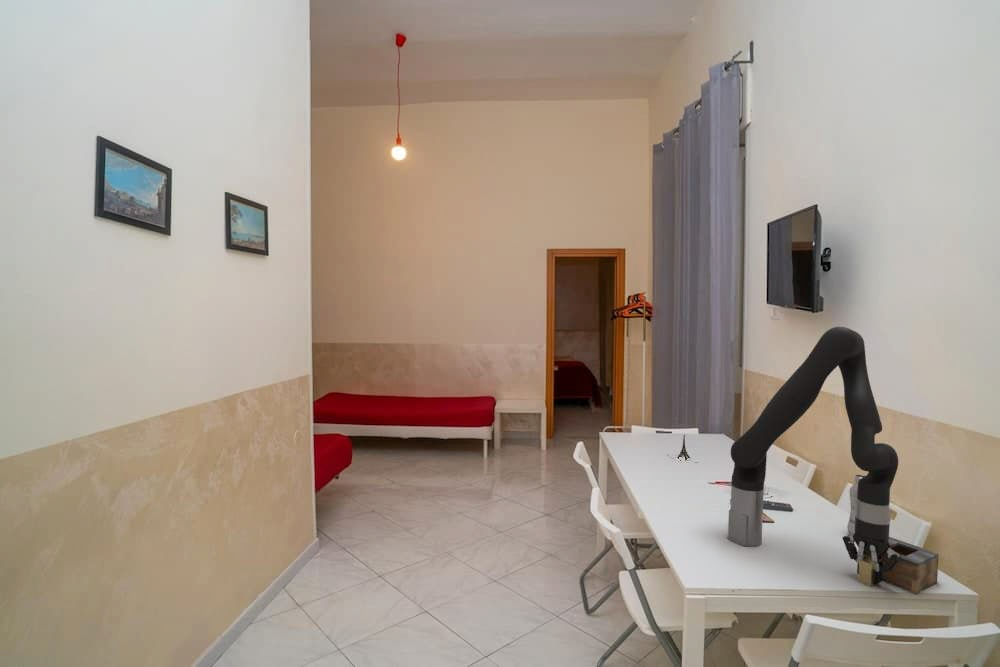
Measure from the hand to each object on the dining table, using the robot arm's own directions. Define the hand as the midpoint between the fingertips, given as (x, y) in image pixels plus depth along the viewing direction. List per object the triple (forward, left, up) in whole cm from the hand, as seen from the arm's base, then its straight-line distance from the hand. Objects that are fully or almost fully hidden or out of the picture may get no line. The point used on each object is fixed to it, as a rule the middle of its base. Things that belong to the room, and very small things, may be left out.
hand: (869, 580), depth 139 cm
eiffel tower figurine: (+48, +105, -1) cm, 116 cm away
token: (0, 0, 0) cm, 0 cm away
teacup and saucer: (+37, +58, -1) cm, 69 cm away
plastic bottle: (+28, +16, -1) cm, 32 cm away
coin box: (+10, -3, 0) cm, 10 cm away
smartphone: (+15, +44, -1) cm, 46 cm away
